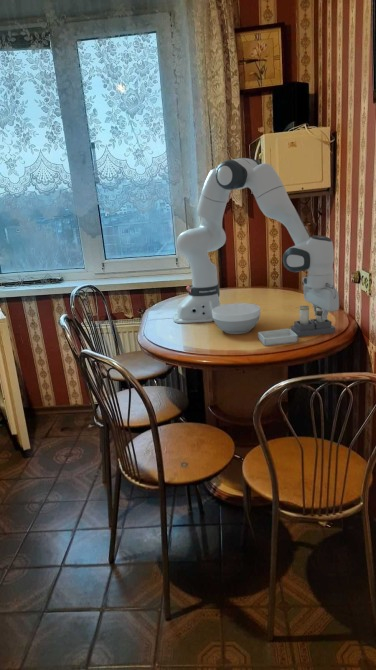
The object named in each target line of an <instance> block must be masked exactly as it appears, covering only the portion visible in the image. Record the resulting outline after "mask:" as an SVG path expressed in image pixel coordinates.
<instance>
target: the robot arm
mask: <svg viewBox="0 0 376 670" xmlns="http://www.w3.org/2000/svg"><path fill="white" fill-rule="evenodd" d="M246 188H248V189H250V191H251V192H252V194H253V196H254V198H255V199H254V200H255V201H256V204H257V206H258V208H259V209H260V211H261V212H262V214H263V216H265V217H267V218H268V219H272V220H274V221H276V222H279V223H281V224H282V225H283V226H284V227H285V228H286V230H287V231H288V234H289V235H290V238H291V239H292V241H293V243H294V245H292V246H291V247H289V248H287V249H286V250H285V251H284V253H283V254H282V263H283V266H284V268H286V270H287V271H289V272H291V273H300V272H304V271H307V272H308V273H307V275H306V276H304V277H302V283H303V298H304V300H305V302H307V303H309V304H312V308H313V311H314V316H315V317H316V306H318V307H320V308H322V311H323V313H322V315H321V319H323V320H327V319H328V314H329V312H333V313H334V312H339V311H338V310H339V308H340V299H339V296H340V295H339V291H338V290H337V289H336V287H335V285H334V283H335V282H334V281H335V279H334V277H335V276H334V274H335V273H334V271H335V270H334V268H333V266H334V265H333V264H334V261H335V254H334V253H335V252H334V250H335V249H334V243H333V240H332V239H331V238H330V237H328V236H325V235H312V236H311V235H310V233H309V231H308V230H307V228H306V226H305V223H304V221H303V219H302V218H301V216H300V214H299V212H298V211H297V209H296V208H295V206H294V205H293V203H292V201H291V199H290V197H289V194H288V193H287V190H286V188H285V186H284V184H283V181H282V180H281V178H280V176H279V174H278V173H277V171H276V169H275V168H274V167H273V166H272V165H271V164H269V163H267V162H266V163H261V162H260V161H258V160H257V159H254V158H252V157H250V158H249V157H246V158H245V157H240V158H239V157H238V158H235V159H227V160H224V161H222V162H221V163H219V165H217V167H216V168H212V169H211V170H209V172H208V174H207V176H206V178H205V181H204V183H203V186H202V189H201V193H200V195H199V200H198V203H197V206H196V214H197V215H198V216H199V218H200V224H199V226H198V227H196V228H194V227H193V228H189V229H187V230H184V231H182V232H181V233H180V234H179V235H178V236H177V238H176V247H177V249H178V251H179V253H180V254H181V255H183V256H184V257H185V258H186V260H187V263H188V265H189V269H190V273H191V283H192V285H191V286H189V285H187V286H186V288H185V289H186V290H187V291H188V292H187V293H188V295H187V296H186V297H185V298H184V299H182V301H180V302H179V304H178V306H177V313H175V314H173V316H172V320H173V322H174V323H176V324H193V323H207V322H209V323H210V322H215V321H214V318H213V314H212V310H213V309H214V308H215V307H217V306H220V305H221V301H220V292H221V291H220V286H219V285H220V284H219V282H218V269H217V268H218V267H217V265H216V264H215V263H213V262H212V261H211V258H210V256H209V253H211V252H215V251H217V250H218V249H220V248H221V247H223V246H224V245H225V244H226V240H227V236H226V235H227V234H226V232H225V230H224V228H223V218H224V214H225V210H226V206H227V203H228V201H229V197H230V193H231V191H233V190H243V189H246Z"/></svg>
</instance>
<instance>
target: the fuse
mask: <svg viewBox="0 0 376 670" xmlns="http://www.w3.org/2000/svg"><path fill="white" fill-rule="evenodd" d="M298 309H299V321H300V325H304V324H309V320H310V305H300V306H299V307H298Z"/></svg>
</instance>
